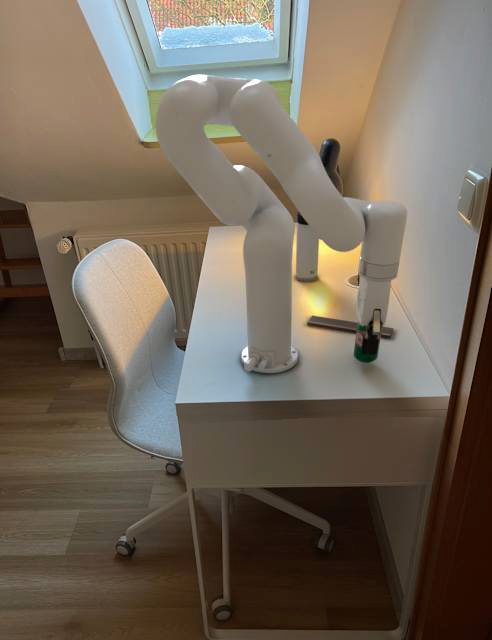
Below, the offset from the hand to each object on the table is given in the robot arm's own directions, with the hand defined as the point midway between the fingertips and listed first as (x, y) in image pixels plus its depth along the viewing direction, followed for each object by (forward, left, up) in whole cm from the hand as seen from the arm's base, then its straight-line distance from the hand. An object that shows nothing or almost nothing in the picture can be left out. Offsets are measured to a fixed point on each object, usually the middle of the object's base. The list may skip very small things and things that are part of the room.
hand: (366, 346), depth 116 cm
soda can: (0, 0, -3) cm, 3 cm away
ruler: (+14, +7, -4) cm, 16 cm away
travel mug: (+40, +26, -4) cm, 48 cm away
